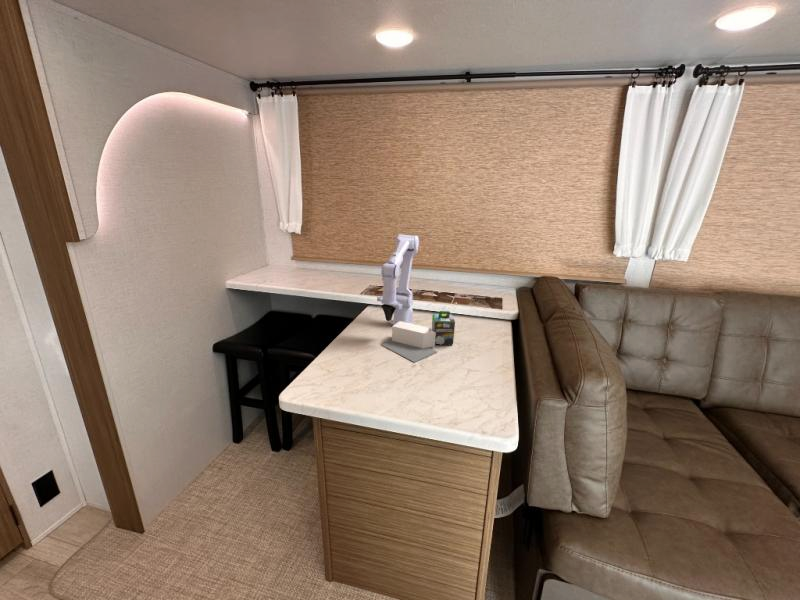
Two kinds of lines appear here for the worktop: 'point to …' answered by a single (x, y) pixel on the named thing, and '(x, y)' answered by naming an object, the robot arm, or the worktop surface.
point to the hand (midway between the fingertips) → (388, 320)
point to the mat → (409, 351)
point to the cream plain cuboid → (413, 335)
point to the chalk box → (443, 327)
